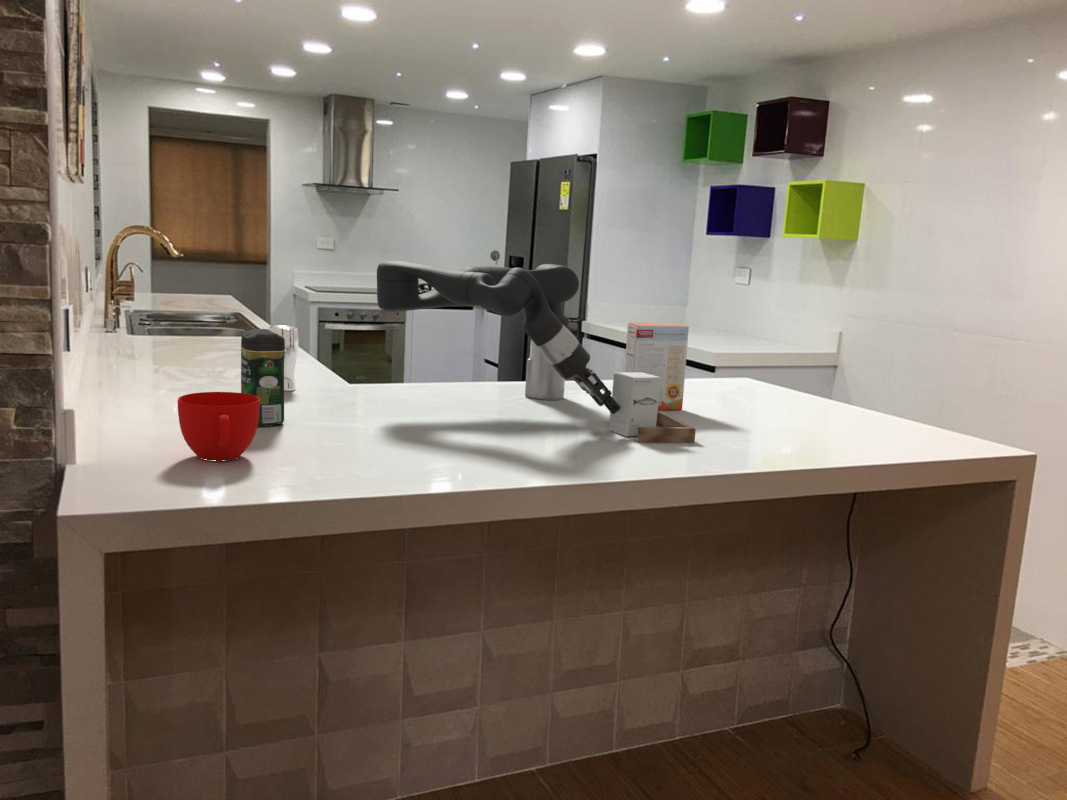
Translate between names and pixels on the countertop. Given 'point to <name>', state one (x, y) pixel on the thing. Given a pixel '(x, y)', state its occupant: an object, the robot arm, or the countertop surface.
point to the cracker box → (659, 358)
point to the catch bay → (666, 431)
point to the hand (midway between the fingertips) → (610, 407)
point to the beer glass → (288, 352)
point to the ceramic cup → (218, 423)
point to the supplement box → (634, 402)
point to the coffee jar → (264, 373)
